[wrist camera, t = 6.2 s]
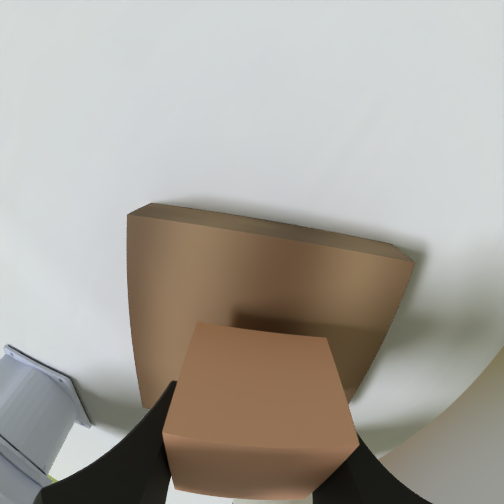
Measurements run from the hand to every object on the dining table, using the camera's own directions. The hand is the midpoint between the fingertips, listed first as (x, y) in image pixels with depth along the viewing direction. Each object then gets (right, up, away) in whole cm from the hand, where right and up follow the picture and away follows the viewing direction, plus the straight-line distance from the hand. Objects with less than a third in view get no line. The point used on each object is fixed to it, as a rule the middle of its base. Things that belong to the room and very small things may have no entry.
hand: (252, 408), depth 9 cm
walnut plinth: (0, +2, +6) cm, 6 cm away
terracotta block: (0, +1, +1) cm, 2 cm away
